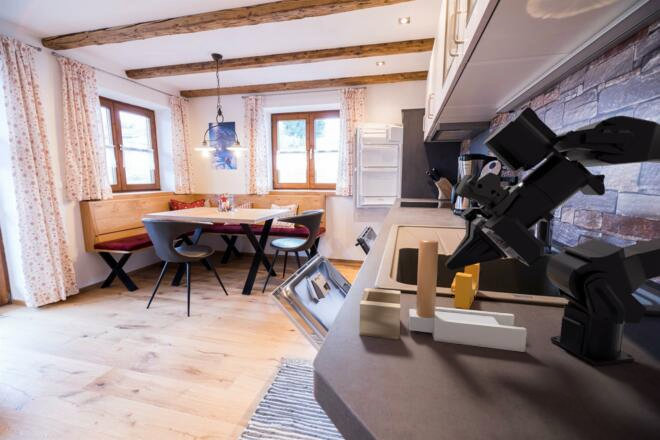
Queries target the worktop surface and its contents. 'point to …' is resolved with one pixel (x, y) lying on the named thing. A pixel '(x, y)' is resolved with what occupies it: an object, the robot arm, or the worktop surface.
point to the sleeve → (480, 331)
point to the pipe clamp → (465, 286)
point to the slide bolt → (433, 293)
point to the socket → (380, 313)
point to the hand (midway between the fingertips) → (447, 267)
